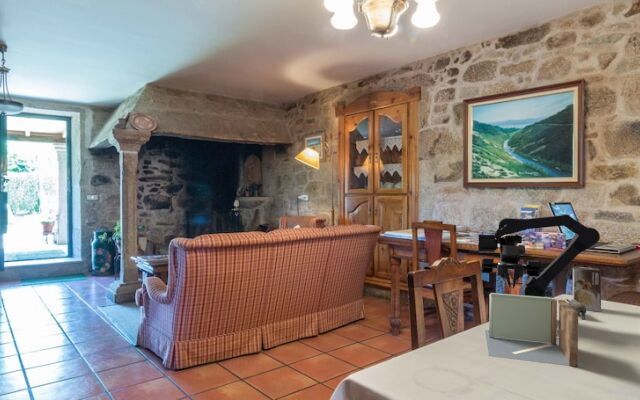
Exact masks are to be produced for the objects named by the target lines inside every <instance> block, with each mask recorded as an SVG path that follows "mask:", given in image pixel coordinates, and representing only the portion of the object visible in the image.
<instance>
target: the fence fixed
mask: <svg viewBox="0 0 640 400" xmlns="http://www.w3.org/2000/svg"><path fill="white" fill-rule="evenodd" d="M568 303H569V302H568V301H567V300H564V299H558V300H557V304H559V305H558V309H559V310H558V338H559V347H560V349H561V351H562V352H563V354H564V355H565V357H566V359H567V360H568V362H569V365H570V366H569V367H572V368H579V367H578V360H579V358H578V357H579V356H578V355H579V349H578V348H579V316H578V312H576V311H575V310H574V309H573V308H572V307H571V306H570V305H569V304H568Z"/></svg>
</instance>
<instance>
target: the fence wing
mask: <svg viewBox="0 0 640 400" xmlns="http://www.w3.org/2000/svg"><path fill="white" fill-rule="evenodd" d="M488 306H489V307H488V309H489V315H488V316H489V318H488V322H489V323H488V324H489V325H488V326H489V327H488V328H489V337H491V338H494V337H500V338H509V339H518V340H527V341H536V342H545V343H551V344H556V342H557V338H558V337H557V331H558V329H557V326H558V325H557V322H558V321H557V320H558V319H557V316H558V315H557V314H558V300H557V299H556V298H553V297H548V296H547V297H538V296H525V294H524V295H523V294H522V295H521V294H509V293H497V292H490V293H489V305H488Z"/></svg>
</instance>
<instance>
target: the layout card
mask: <svg viewBox="0 0 640 400" xmlns="http://www.w3.org/2000/svg"><path fill="white" fill-rule="evenodd" d="M484 333H485V340H486V344H487V345H486V347H487V351H488V352H487V353H488V357H495V358H502V359H510V360H520V361H526V362H533V363H535V362H536V363H541V364H549V365H551V364H552V365H557V366H558V365H559V366H566V367H571V366H570V365H569V362H568V360H567V359H566V357H565V355H564V354H563V352H562V351H561V349H560V347H559V337H557V342H556V344H551V343H545V342H536V341H527V340H518V339H509V338H500V337H494V338H491V337H489V330H487V329H485V330H484ZM577 368H581V369H583V368H584V366H583V365H582V363H581V362H580V360H579V359H578V367H577ZM584 369H585V368H584Z"/></svg>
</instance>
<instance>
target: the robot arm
mask: <svg viewBox="0 0 640 400" xmlns="http://www.w3.org/2000/svg"><path fill="white" fill-rule="evenodd" d="M554 227H555V228H556V227H565V228H566V229H568V230H569V231H571V233H573V234H574V235H573V236H572V238H571V240H570V242H569V244H568V245H567V246H566V247H565V248H564V249H563V251H561V252H560V253H559V255H557V256H556V258H554V259H553V260H552V261H551V263H550V264H549V265H547V266H546V267H545V268H544V269H543V270H542V263H541V262H540V261H538V260H527V261H526V263H519V262H520V261H521V260H520V256H525V254H526V246H525V245H523V244H522V243H523V236H522V235H519V234H516V233H519V232H522V231H526V230H532V229H533V230H534V229H543V228H554ZM513 234H514V235H513ZM477 237H478V243H477V247H478V249H477V250H478V253H496V251H497V250H499V254H500V255H499V257H500V261H497V262H494V261H495V260H494V258H485V257H483V258H481V262H480V273H482V274H489V275H490V274H492V273H493V272H494V270H497V274H496V275H497V276H498V277H500V278H502V280H503V281H504V283H505V284H506V286H507V287H508V289H511V287H512V289H515V287H516V284H517V282H518V280H519V278H523V277H524V275H523V274H524V272H525V271H526V275H527V276H529V277H528V279H526V280H524V281H523V282H524V283H523V286H522V290H523V293H524V295H525V296H538V297H548V296H547V295H546V294H545V293H546V291H547V289H548V287H549V285H550V284H551V282H552V281H553V280H554V279H555V278H556V277H557V276H559V274H560V273H562V272H563V270H564V269H566V267H567V266H569V264H570V263H572V261H573V260H575V259H576V258H577V257H578V256H579V255H580V254H581V253H583V252H584V251H587V250H588V249H590V248H591V247H593V246H594V245H595V244H597V243H599V241H600V239H601V235H600V233H599V231H598V230H597V229H595V228H594V227H590V226H586V225H584V224H582V223H581V222H579V221H577V220H576V219H574V218H573V217H572V216H571V215H570V214H567V213H563V214H559V215H550V216H539V217H530V218H519V217H518V218H517V217H504V218H502V219H500V220H499V223H498V228H497V229H496V230H495V231H494V233H493V234H483V233H479V234H478V235H477ZM518 244H519V245H518ZM498 245H499V246H498ZM498 248H499V249H498ZM493 269H494V270H493ZM509 271H513V275H512V286H511V280H510V275H509ZM541 271H542V272H541Z"/></svg>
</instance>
